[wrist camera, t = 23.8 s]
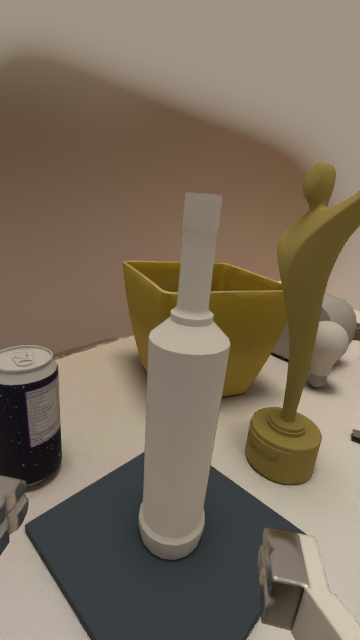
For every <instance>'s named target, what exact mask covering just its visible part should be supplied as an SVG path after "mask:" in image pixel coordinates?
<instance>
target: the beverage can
mask: <svg viewBox="0 0 360 640" xmlns="http://www.w3.org/2000/svg"><path fill="white" fill-rule="evenodd" d="M61 458H62V453H61V428H60V403H59V378H58V365H57V363H56V362H55V360H54V359H53V354H52V352H51V351H50V350H49V349H47V348H44V347H41V346H33V345H27V346H25V345H24V346H15V347H11V348H6V349H4V350H1V351H0V475H3V476H7V477H12V478H16V479H21V480H24V481H26V483H27V486H31V485H35V484H37V483H39V482H41V481H43V480H44V479H46V478H47V477H48V476H49V475H51V474H52V473H53V472H54V471H55V470H56V469H57V468H58V466H59V464H60V462H61Z"/></svg>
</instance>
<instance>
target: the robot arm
mask: <svg viewBox="0 0 360 640" xmlns="http://www.w3.org/2000/svg"><path fill="white" fill-rule="evenodd" d="M26 490H27V483H26V481H24V480H21V479H16V478H12V477H7V476H3V475H0V555H1V554H2V552H3V551H4V549H5V548H6V546H7V545H8V543H9V535H10V534H11V533H13V532H15V531H16V530H18V529H19V527H20V526H21V524H22V522H23V521H24V518H25V516H26V513H27V510H28V498H27V497H26V495H25V494H24V492H25V491H26ZM262 538H263V544H262V545H260V548H259V553H258V581H259V583H260V584H261V586H262V589H261V593H260V609H261V621H262V623H263V624H267V625H271V626H275V627H279V628H283V629H286V630H290V631H292V632H291V633H292V635H293V636H294V638H295V640H360V624H359V623H358V621H357V620H356V619H355V618H354V616H353V615H352V614H351V613H350V611H349V610H348V609H347V607H346V606H345V605H344V604H343V602H342V601H341V600H340V599H339V597H338V596H337V595H336V594H334V593H330V589H329V585H328V582H327V578H326V574H325V571H324V567H323V563H322V560H321V556H320V552H319V549H318V545H317V541H316V539H315V537H314V536H310V535H305V534H300V533H296V532H290V531H285V530H279V529H274V528H268V527H265V528H264V530H263V534H262Z"/></svg>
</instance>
